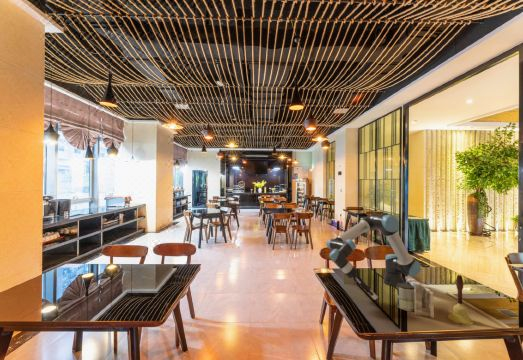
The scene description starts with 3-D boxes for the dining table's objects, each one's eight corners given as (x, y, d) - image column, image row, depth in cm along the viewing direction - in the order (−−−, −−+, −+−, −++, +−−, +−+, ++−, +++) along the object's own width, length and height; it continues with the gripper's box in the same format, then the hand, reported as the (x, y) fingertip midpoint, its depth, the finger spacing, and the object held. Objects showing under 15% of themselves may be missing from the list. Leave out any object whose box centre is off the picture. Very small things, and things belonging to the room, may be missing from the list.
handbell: (479, 322, 153) (477, 277, 154) (464, 326, 148) (463, 279, 150) (456, 313, 164) (455, 271, 166) (442, 316, 160) (441, 273, 161)
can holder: (405, 302, 179) (404, 275, 180) (420, 304, 178) (420, 276, 179) (416, 315, 160) (415, 285, 161) (433, 317, 158) (433, 287, 159)
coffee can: (393, 304, 176) (393, 282, 177) (407, 303, 178) (407, 281, 178) (404, 311, 166) (404, 288, 167) (419, 310, 167) (419, 287, 168)
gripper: (343, 271, 185) (369, 298, 181) (346, 276, 172) (373, 306, 168) (351, 263, 184) (378, 290, 180) (354, 268, 171) (383, 298, 167)
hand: (376, 298), depth 174 cm, fingers closed
